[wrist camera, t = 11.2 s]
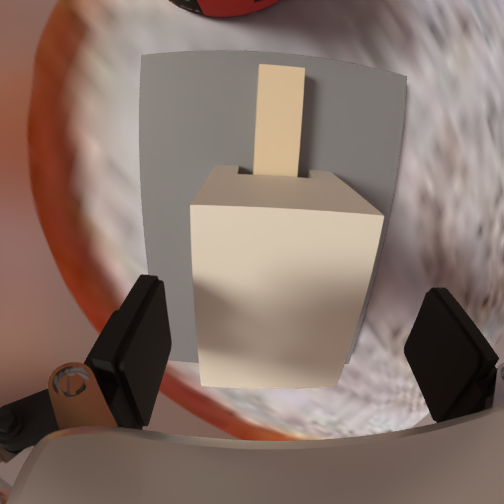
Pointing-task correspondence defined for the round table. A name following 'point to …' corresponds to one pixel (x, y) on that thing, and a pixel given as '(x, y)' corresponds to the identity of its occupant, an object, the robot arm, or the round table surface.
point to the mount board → (222, 136)
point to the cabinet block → (278, 277)
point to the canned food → (223, 6)
